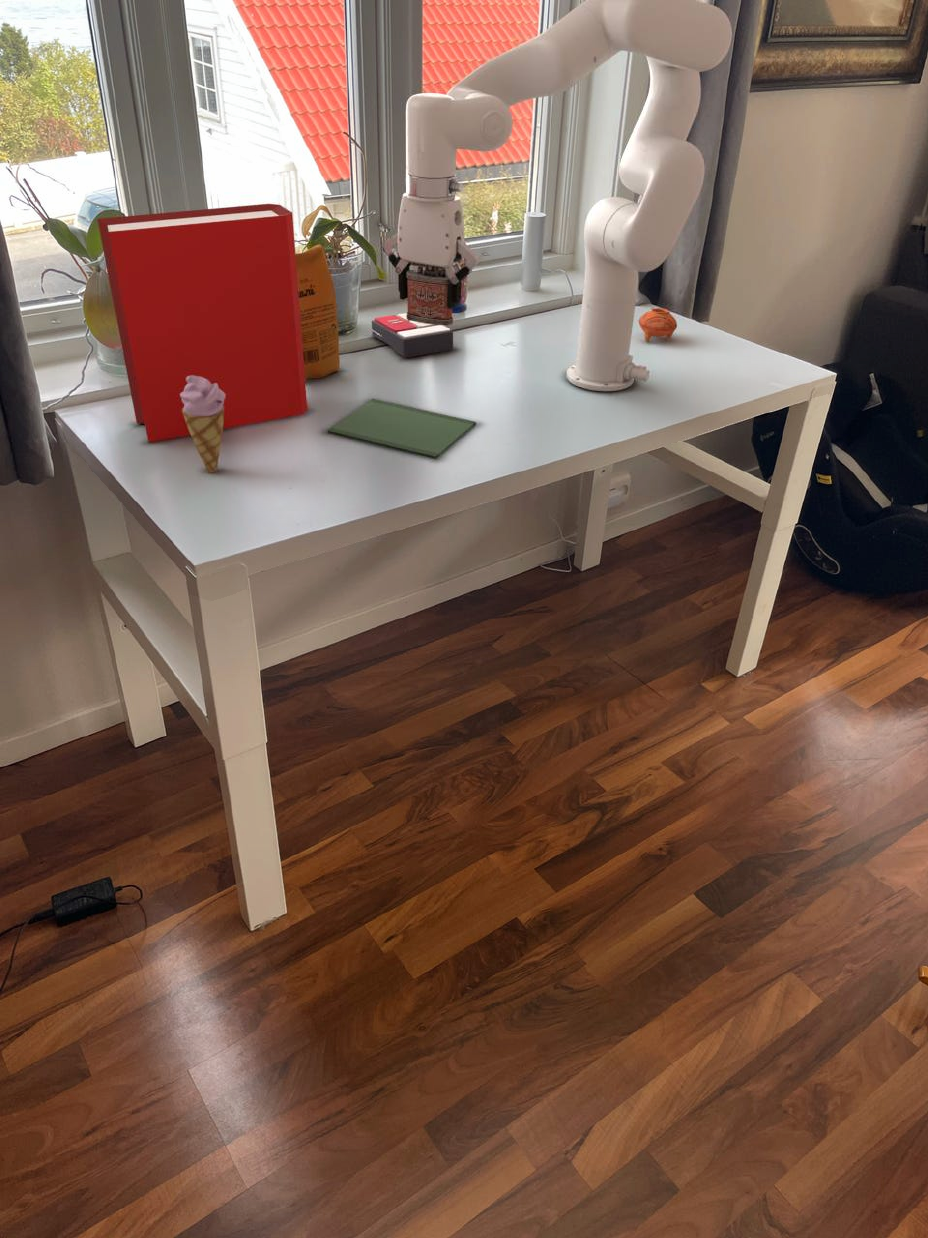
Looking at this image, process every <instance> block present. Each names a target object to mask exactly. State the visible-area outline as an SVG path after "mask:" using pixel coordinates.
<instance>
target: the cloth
mask: <svg viewBox="0 0 928 1238" xmlns="http://www.w3.org/2000/svg"><path fill="white" fill-rule="evenodd" d="M476 424H477V422H476V421H474V420H469V419H466V418H460V417H457V416H451V415H447V414H442V413H439V412H434V411H429V410H424V409H421V408H416V407H412V406H407V405H403V404H398V403H393V402H389V401H384V400H380V399H376V398H372V399H371V400H369V401H368V402H367V403H365V404H364V405H362V406H361V407H359V408H358V409H356V410H355V411H353V412H352V413H350V414H349V415H348V416H346V417H345V418H344V419H342V420H341V421H339V422H338V423H336V424H334V425H333V426H332V427H330V428H328V430H326V431H327V432H326V433H327V434H331V435H336V436H338V437H339V436H340V437H343V438H349V439H352V440H356V441H359V442H364V443H369V444H372V445H377V446H381V447H386V448H389V449H393V450H396V451H397V450H398V451H402V452H405V453H410V454H414V455H417V456H423V457H425V458H430V459H435V460H436V459H438V457H440V456H441V455H443V454H444V452H446V451H447V450H448V449H449V448H450V447H451V446H452V445H453V444H455V443H456V442H457V441H458V440H459V439H460V438H462V437H463V436H464V435H465V434H466V433H468V431H470V430H471V429H472V428H474V426H475V425H476Z"/></svg>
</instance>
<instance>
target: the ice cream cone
mask: <svg viewBox="0 0 928 1238" xmlns="http://www.w3.org/2000/svg"><path fill="white" fill-rule="evenodd" d="M186 381H187V382H188V384H187V385H186V386H185V388H184V391H183V392H182V393H180V397H181V399H182V402H183V403H184V407H183V409H182V412H183V415H184V418H185V421H186V424H187V426H188V429H189V432H190V434H191V435H190V436H191V439H192V441H193V443H194V446H195V448H196V450H197V452H198V455H199V456H200V459H201V461H202V463H203V465H204V467H205V469H206V471H207V473H209V474H214V473H215V474H216V472H218V465H219V459H220V453H221V447H222V439H223V431H224V429H223V420H224V405H223V403H224V399H225V397H226V395H225V393H224V392H223V391H222V390H220V389H219V387H218V384H217V383H215V384H210V382H209V381H208V380H207V379H205V378H203V377H198V376H194V375H192V376H188V377H187V378H186Z"/></svg>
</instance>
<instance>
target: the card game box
mask: <svg viewBox="0 0 928 1238" xmlns="http://www.w3.org/2000/svg"><path fill="white" fill-rule="evenodd" d="M406 313H407V312H405V313H398V314H397V315H395V314H393V315H386V316H379V317H374V319H373V320H372V321H371V333H372V336H373V337H375V338H376V339H378V340H380V341H382V342H383V343H385V344H386V345H388V346H390V347H392V348H393V349H394V351H395V352H396V353H397V354H398V355H400V356H402V357H403V358H411V357H418V356H423V355H429V354H434V353H440V352H445V351H451V350H454V331H453V330H451V329H450V328H449V327H447V326H444V325H433V324H425V323H420V322H415V321H411V320H407V318H406ZM372 329H373V330H374V331H376V332H377V333H379V334H380V335H382V337H380V336H379V335H377V334H376V333H375V332H373V331H372Z"/></svg>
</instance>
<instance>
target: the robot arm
mask: <svg viewBox="0 0 928 1238" xmlns="http://www.w3.org/2000/svg"><path fill="white" fill-rule="evenodd" d="M732 38H733V29H732V25H731V21H730V19H729V17H728V16H727V14H726V13H725V12H724V11H723V10H722V9H721V8H719V7H718V6H716V5H713V4H710V3H707V2H703V1H700V0H584V1H583V2H581V3H580V4H579V5H577V6H576V7H575V8H573V9H572V10H570V12H568V13H567V14H566V15H564V16H563V17H561V18H560V19H559V20H557V21H556V22H555V23H554V24H552V25H551V26H550V27H548V28H547V29H546V30H544V31H543V32H541V33H540V34H539V35H537V36H534V37H533V38H531V39H529V40H527V41H524V42H522V43H521V44H520V43H519V45H517V46H515V47H513V48H511V49H508V50H507V51H505V52H503V53H501V54H499V55H497V56H495V57H492V58H490V59H489V60H488V61H486V62H484V63H483V64H481V65H480V66H478V67H477V68H476V69H474V70H472V71H471V73H469V74H468V75H466V76H465V77H463V78H462V79H461V80H459V81H458V82H457V83H456V84H454V85H453V86H452V87H451V88H450V89H449V90H448V92H447V93H446V94H443V93H435V92H434V93H433V92H432V93H431V92H429V93H427V92H426V93H425V92H424V93H416V94H413V95H411V96H410V97H408V100H407V101H406V104H405V105H406V106H405V109H406V110H405V176H406V177H405V187H406V189H405V190H406V191H405V192H404V193H403V194H402V196H401V197H402V199H401V202H400V209H399V215H398V225H397V233H396V234H394V235H393V236H392V237H390V238H389V239H387V240H385V241H384V242H382V248H383V250H384V252H385V254H386V256H388V261H389V262H390V263H391V265H392V266H393V268H394V272H395V273H396V274H397V275H398V276H397V282H398V283H397V284H398V285H397V286H398V288H397V289H398V292H399V299H400V300H401V301H402V300H403V301H405V300H406V299H407V277H406V272H407V271H409V270H411V269H410V268H411V267H412V265H410V262H413V263H419V264H424V265H430V266H436V267H442V268H444V269H445V271H446V273H445V274H447V275H448V277H449V279H450V281H451V282H450V283H448V285H447V307H448V308H449V309H452V310H453V309H454V308H455V307H458V306H459V304H460V303H461V300H462V288H463V287H462V282H463V281H464V280H465V279H466V277H468V276H469V275H470V274H472V272H473V269H474V268H475V267H476V266H477V264H478V262H479V261H480V256H478V255H477V254H476V253H475V252H474V250H472V249H471V248H470V246H468V245H467V243H465V241H466V240H465V223H464V213H463V212H464V211H463V207H462V206H463V205H462V200H461V197H460V196H456V194H457V193H462V192H463V189H464V184H463V182H460V181H458V180H457V179H458V177H457V175H456V174H457V150H468V151H475V152H491V151H495V150H497V149H499V148H501V147H502V146H503V145H505V144H506V142H508V140H509V138H510V136H511V135H512V131H513V128H514V127H513V126H514V125H513V124H514V121H513V120H514V119H513V115H512V112H511V110H510V108H511V107H512V106H515V105H517V104H519V103H523V102H526V101H528V100H532V99H537V98H544V97H550V96H554V95H559V94H561V93H563V92H567V91H569V90H570V89H572V88H573V87H574V86H575V85H577V84H578V83H579V82H581V81H582V80H584V79H585V78H586V77H587V76H588V75H590V74H591V73H593V72H594V71H595V70H596V69H598V68H599V67H600V66H602V65H603V64H604V63H607V61H609V60H610V59H611V58H612V57H614V56H615V55H616V54H618V53H620V52H621V51H624V52H629V53H633V54H638V55H641V56H644V57H646V60H647V63H648V64H647V65H648V70H649V89H648V94H647V98H646V100H645V102H644V105H643V108H642V111H641V112H640V115H639V118H638V120H637V122H636V124H635V126H634V129H633V131H632V133H631V135H630V138H629V140H628V142H627V144H626V147H625V148H624V151H623V154H622V156H621V159H620V161H619V166H618V177H619V179H620V182H621V184H622V185H623V186H624V187H625V188H626V189H628V190H630V191H631V192H633V193H635V194H637V195H640V196H642V198H641V201H640V203H638V202H635V201H633V200H630V199H627V198H625V197H620V196H608V197H605V198H602V199H601V200H598V202H596V203H595V204H594V205H593V206H592V208H590V209H589V212H588V213H587V216H586V218H585V223H584V227H583V228H584V229H583V246H584V260H585V261H584V278H583V279H584V281H583V292H582V299H581V300H582V301H581V310H580V319H579V331H578V341H577V351H576V360H575V363H574V364H572V365H571V366H569V367H568V368H567V369H566V379H567V380H568V381H569V382H570V383H571V384H572V385H574V386H576V387H578V388H581V389H584V390H589V391H594V392H616V391H617V392H618V391H622V390H625V389H627V388H629V387H631V386H633V384H634V381H635V380H638V381H643V382H644V381H645V382H647V381H648V380H649V376H650V370H648V369H647V366H646V365H639V364H635V362H633V360H634V356H633V355H630V351H631V350H630V349H631V341H632V334H633V328H634V327H633V326H634V320H635V319H634V318H635V313H636V312H635V311H636V310H635V309H636V303H637V297H638V291H639V272H640V273H649V272H651V271H654V270H656V269H657V268H659V267H660V266H661V265H662V264H663V263H665V261H666V260H667V258H668V257H669V256H670V254H671V253H672V251H673V249H674V247H675V245H676V243H677V242H678V239H679V237H680V236H681V233H682V231H683V229H684V227H685V226H686V223H687V221H688V218H689V216H690V215H691V212H692V211H693V208H694V206H695V204H696V202H697V200H698V198H699V196H700V194H701V190H702V187H703V184H704V180H705V171H706V167H705V160H704V157H703V154H702V152H701V151H700V150H699V148H698V147H697V146H696V145H694V144H693V143H691V142H689V141H688V140H687V139H688V137H689V134H690V132H691V129H692V127H693V125H694V122H695V119H696V117H697V114H698V111H699V109H700V108H699V107H700V104H701V96H702V86H701V85H702V84H701V75H700V73H701V72H707V71H710V70H712V69H714V68H715V67H717V66H718V65H719V64H721V62H722V61H723V60H724V59H725V58H726V55H727V54H728V53H729V50H730V47H731V43H732ZM396 246H397V249H396ZM464 259H465V264H464V265H463V267H462V266H461V265H460V262H462V261H464Z"/></svg>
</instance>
